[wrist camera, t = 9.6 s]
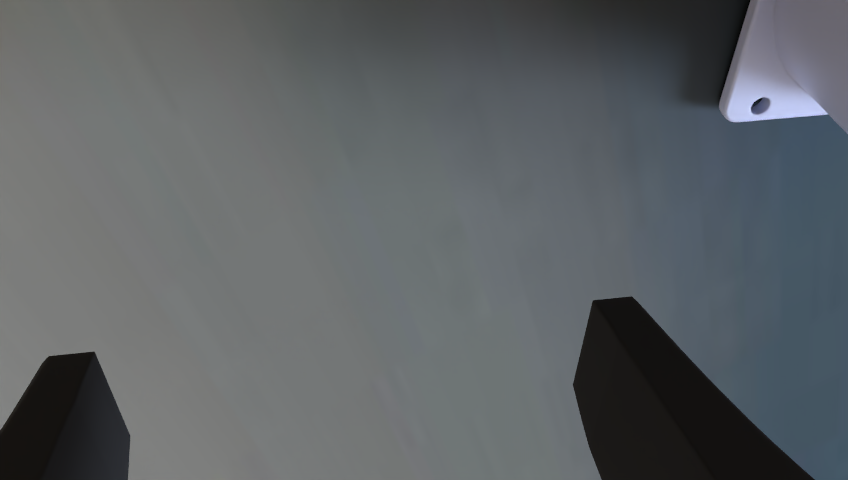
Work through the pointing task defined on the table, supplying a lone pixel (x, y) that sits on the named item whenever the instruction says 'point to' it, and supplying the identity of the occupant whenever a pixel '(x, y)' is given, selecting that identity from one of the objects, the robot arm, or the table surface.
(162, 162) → the table surface
